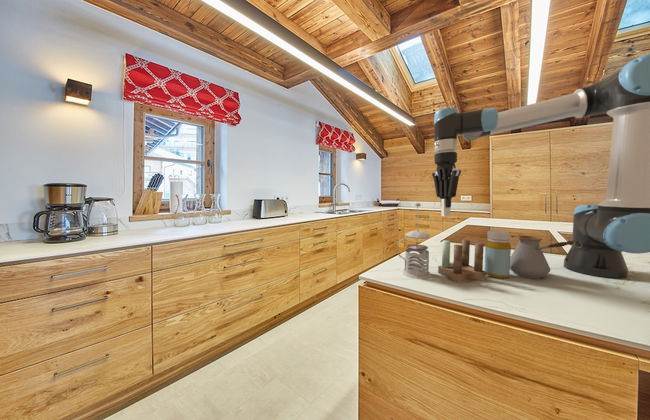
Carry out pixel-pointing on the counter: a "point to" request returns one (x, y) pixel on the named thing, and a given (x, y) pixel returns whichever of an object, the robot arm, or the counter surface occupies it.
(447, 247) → the swing leg
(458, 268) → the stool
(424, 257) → the french press
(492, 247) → the bottle
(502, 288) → the counter surface
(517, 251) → the coffee pot
